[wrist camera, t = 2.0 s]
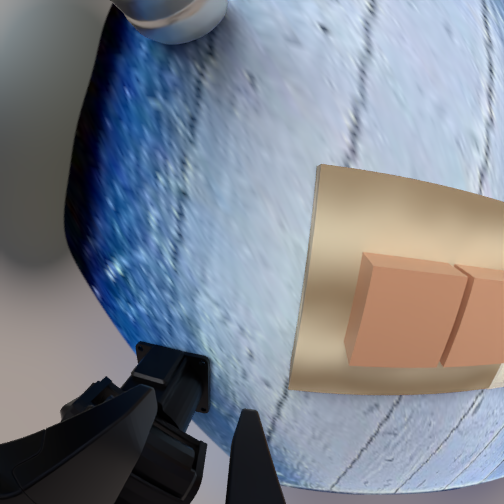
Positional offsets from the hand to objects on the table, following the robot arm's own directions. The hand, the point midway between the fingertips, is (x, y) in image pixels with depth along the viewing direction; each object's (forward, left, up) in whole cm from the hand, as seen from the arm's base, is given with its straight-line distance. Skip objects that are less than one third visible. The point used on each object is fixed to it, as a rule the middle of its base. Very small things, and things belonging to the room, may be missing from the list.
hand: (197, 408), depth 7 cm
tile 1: (0, -8, -10) cm, 13 cm away
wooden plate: (0, -11, -13) cm, 17 cm away
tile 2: (0, -14, -10) cm, 17 cm away
